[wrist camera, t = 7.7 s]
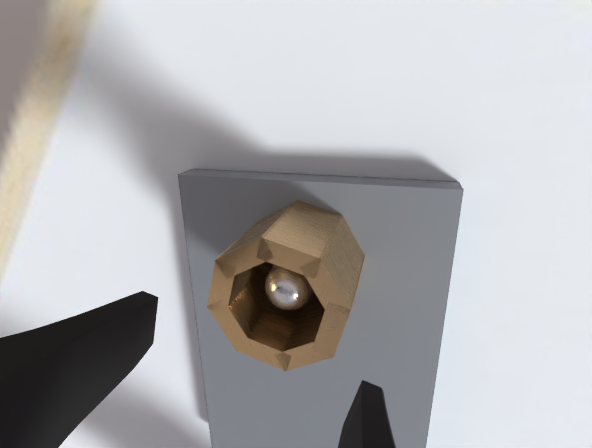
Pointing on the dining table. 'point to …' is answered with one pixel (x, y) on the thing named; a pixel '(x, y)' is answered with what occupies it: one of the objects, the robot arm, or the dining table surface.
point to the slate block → (362, 319)
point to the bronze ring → (301, 259)
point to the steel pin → (287, 288)
